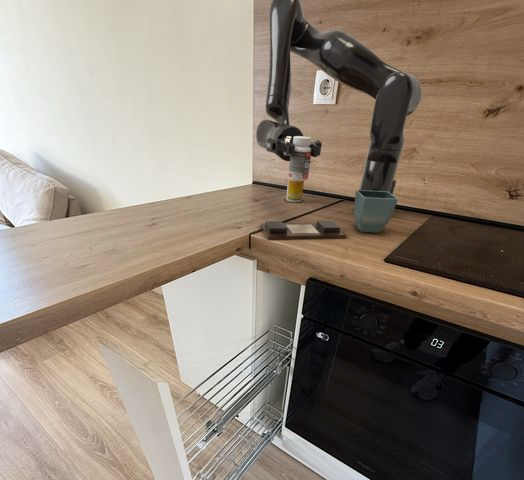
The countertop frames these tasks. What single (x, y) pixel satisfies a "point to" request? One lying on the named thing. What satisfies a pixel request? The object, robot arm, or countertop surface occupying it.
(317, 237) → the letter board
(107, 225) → the countertop surface
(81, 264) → the countertop surface
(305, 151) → the pill bottle
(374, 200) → the flower pot
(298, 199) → the supplement bottle
